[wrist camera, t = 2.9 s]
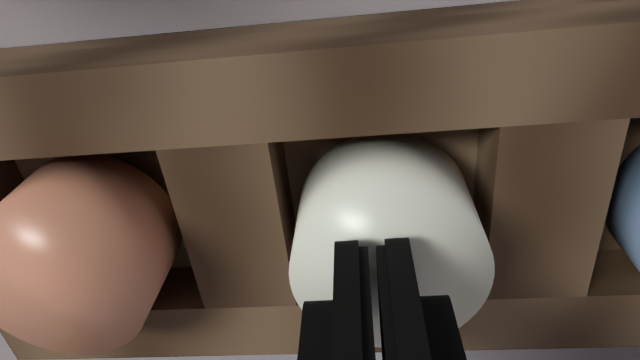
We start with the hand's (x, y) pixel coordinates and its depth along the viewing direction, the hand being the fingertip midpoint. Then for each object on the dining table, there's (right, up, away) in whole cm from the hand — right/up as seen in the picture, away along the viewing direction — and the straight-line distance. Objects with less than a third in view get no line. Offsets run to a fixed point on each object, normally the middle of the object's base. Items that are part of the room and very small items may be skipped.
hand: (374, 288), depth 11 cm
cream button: (+1, +2, +3) cm, 3 cm away
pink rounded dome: (-8, +1, +4) cm, 9 cm away
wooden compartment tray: (+1, +3, +5) cm, 5 cm away
